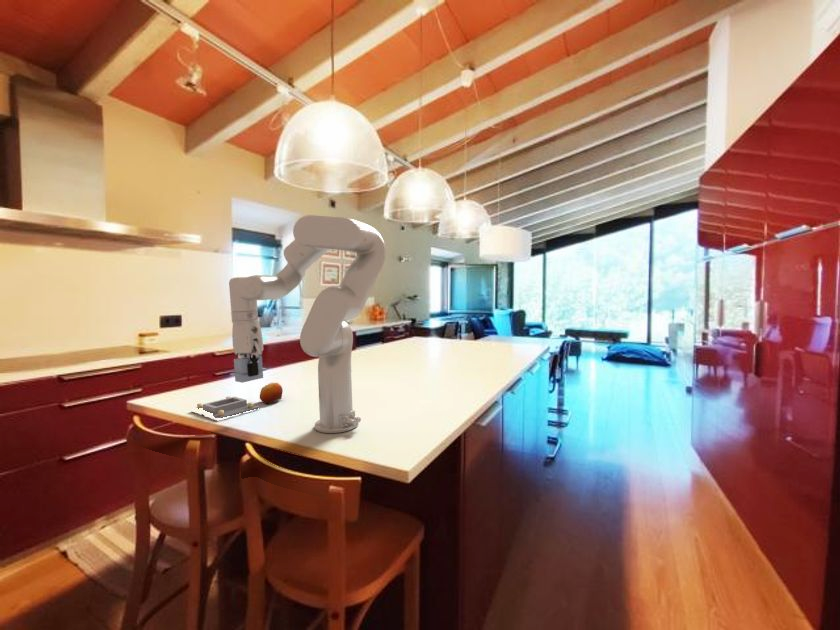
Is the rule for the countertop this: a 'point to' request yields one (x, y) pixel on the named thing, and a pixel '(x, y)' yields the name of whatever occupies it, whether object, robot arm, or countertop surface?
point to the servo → (246, 369)
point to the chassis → (227, 407)
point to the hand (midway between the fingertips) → (249, 374)
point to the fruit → (271, 393)
